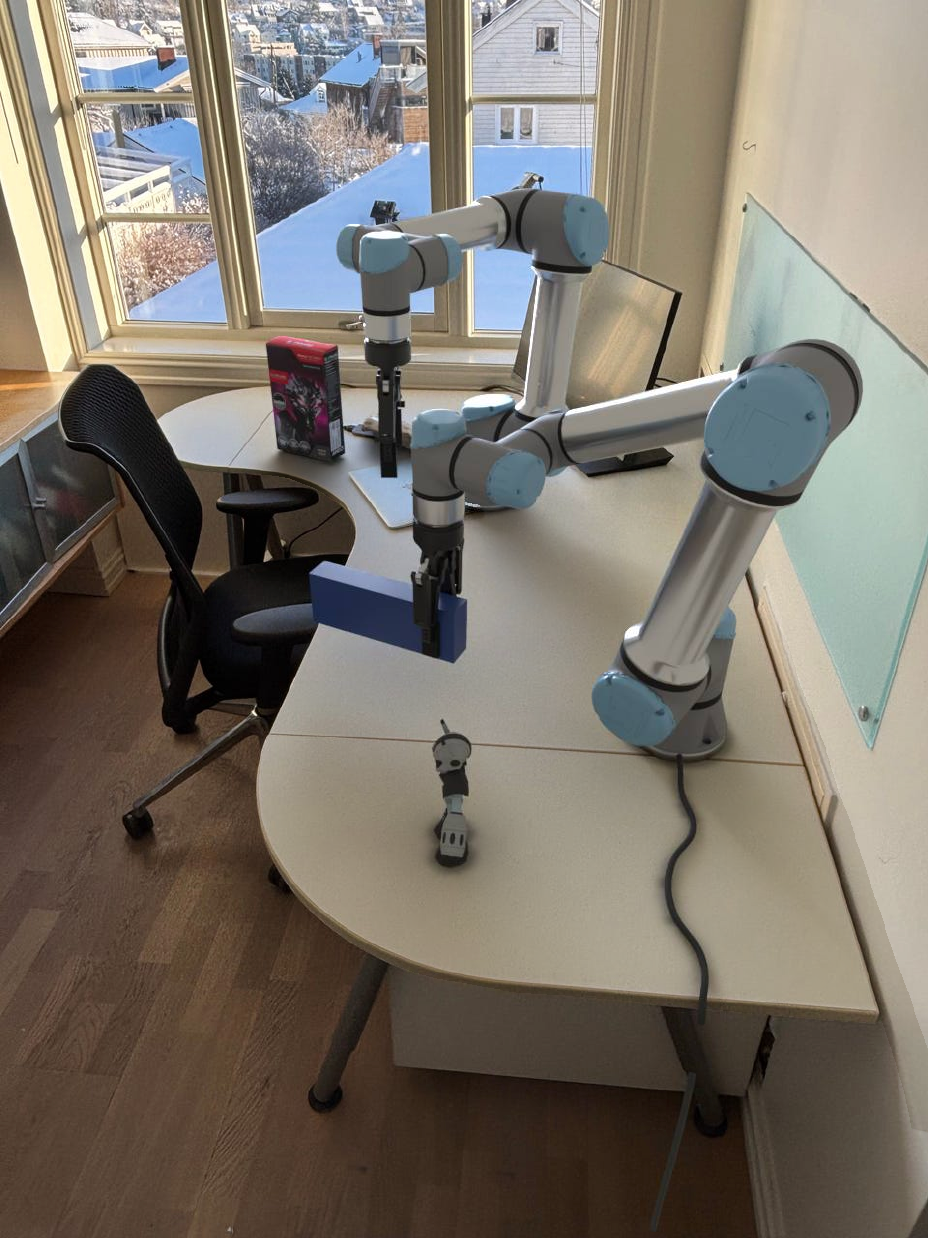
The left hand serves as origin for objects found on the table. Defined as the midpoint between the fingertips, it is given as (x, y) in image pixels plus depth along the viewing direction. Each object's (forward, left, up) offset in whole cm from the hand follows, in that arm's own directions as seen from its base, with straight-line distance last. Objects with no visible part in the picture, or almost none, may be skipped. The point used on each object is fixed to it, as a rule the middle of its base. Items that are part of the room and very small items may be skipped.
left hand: (392, 460), depth 159 cm
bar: (+23, +7, -20) cm, 31 cm away
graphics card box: (-57, -42, -28) cm, 76 cm away
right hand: (+25, +16, -20) cm, 35 cm away
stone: (-69, -23, -28) cm, 78 cm away
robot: (+57, +27, -28) cm, 69 cm away
